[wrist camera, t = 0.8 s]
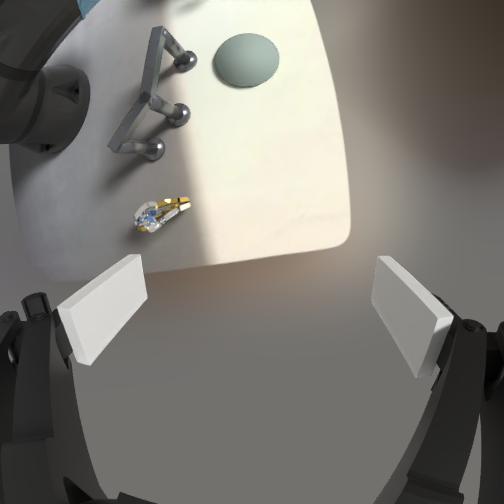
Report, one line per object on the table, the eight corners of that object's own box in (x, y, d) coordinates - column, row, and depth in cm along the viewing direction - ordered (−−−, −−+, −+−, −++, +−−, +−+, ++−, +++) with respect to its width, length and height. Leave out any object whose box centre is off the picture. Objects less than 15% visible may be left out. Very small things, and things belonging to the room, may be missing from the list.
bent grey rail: (119, 135, 32) (74, 129, 22) (185, 49, 28) (157, 16, 18) (156, 164, 33) (115, 165, 23) (227, 73, 29) (209, 41, 19)
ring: (154, 225, 35) (125, 240, 28) (148, 203, 34) (117, 212, 27) (201, 212, 34) (180, 224, 27) (195, 188, 33) (171, 194, 26)
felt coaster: (203, 66, 29) (202, 65, 28) (243, 26, 26) (242, 24, 26) (251, 98, 29) (251, 96, 29) (292, 56, 27) (292, 54, 27)
